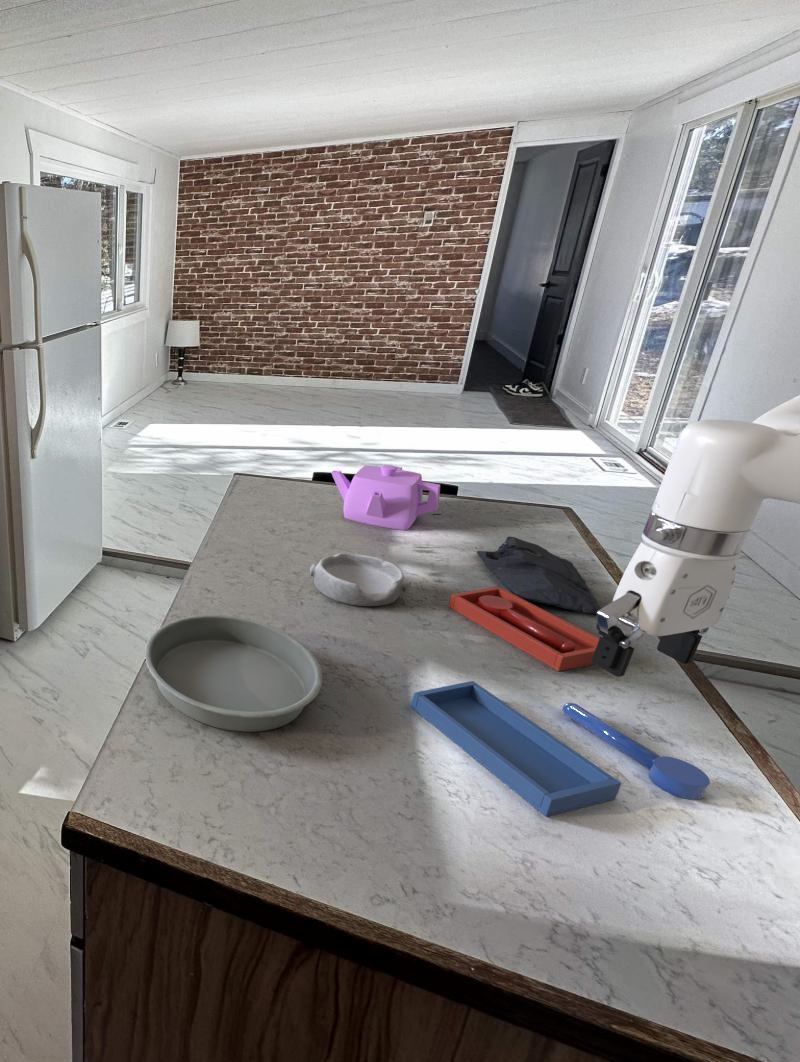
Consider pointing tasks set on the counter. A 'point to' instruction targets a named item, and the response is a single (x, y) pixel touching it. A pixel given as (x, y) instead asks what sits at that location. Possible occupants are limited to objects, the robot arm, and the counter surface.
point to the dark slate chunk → (539, 576)
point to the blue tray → (515, 749)
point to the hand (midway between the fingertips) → (640, 663)
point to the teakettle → (386, 496)
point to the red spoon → (523, 622)
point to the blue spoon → (646, 757)
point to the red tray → (521, 638)
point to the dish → (359, 579)
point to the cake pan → (232, 671)
